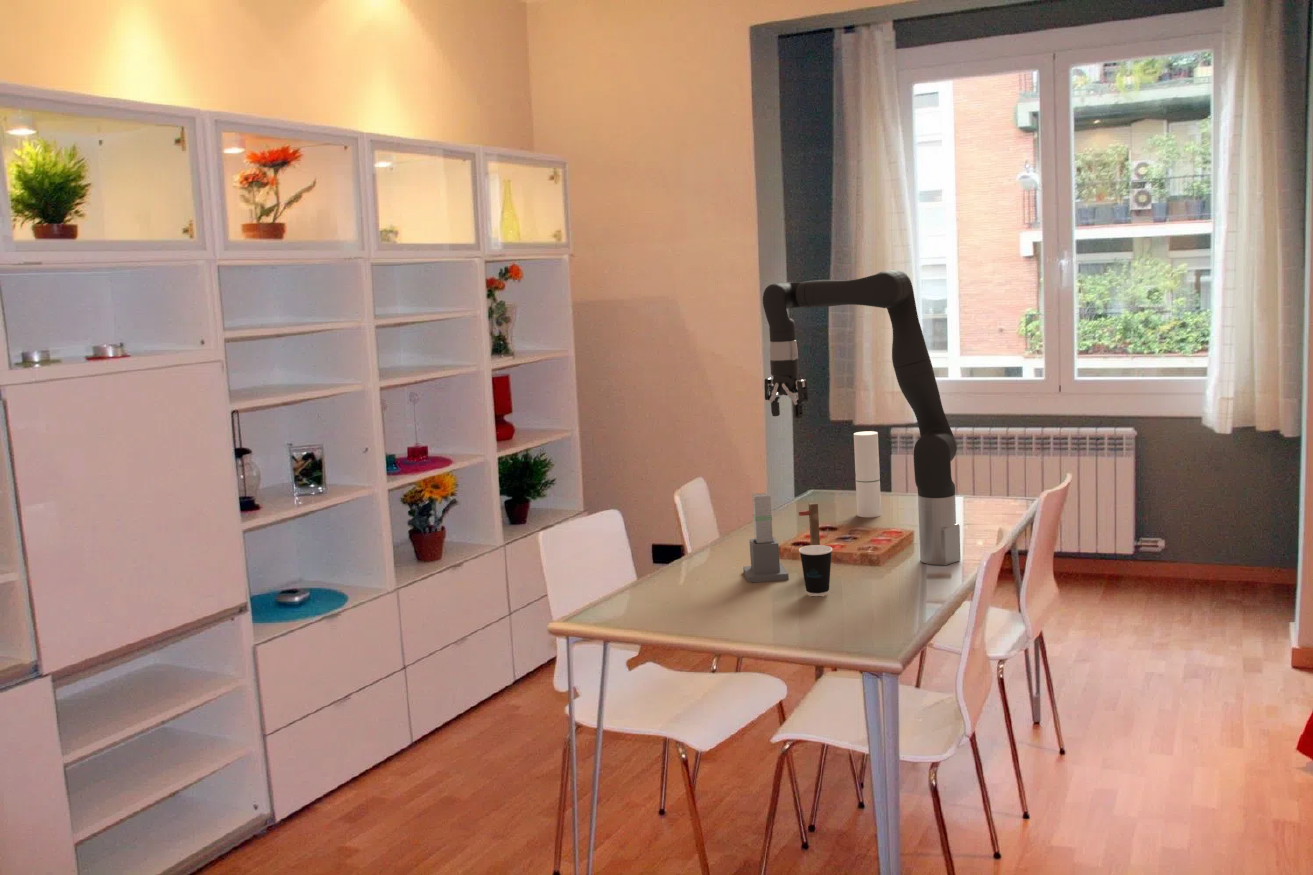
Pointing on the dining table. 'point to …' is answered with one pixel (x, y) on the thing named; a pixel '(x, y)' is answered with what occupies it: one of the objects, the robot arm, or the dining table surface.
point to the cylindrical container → (867, 474)
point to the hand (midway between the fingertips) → (787, 417)
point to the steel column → (762, 518)
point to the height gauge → (813, 522)
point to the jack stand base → (765, 563)
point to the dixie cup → (816, 568)
